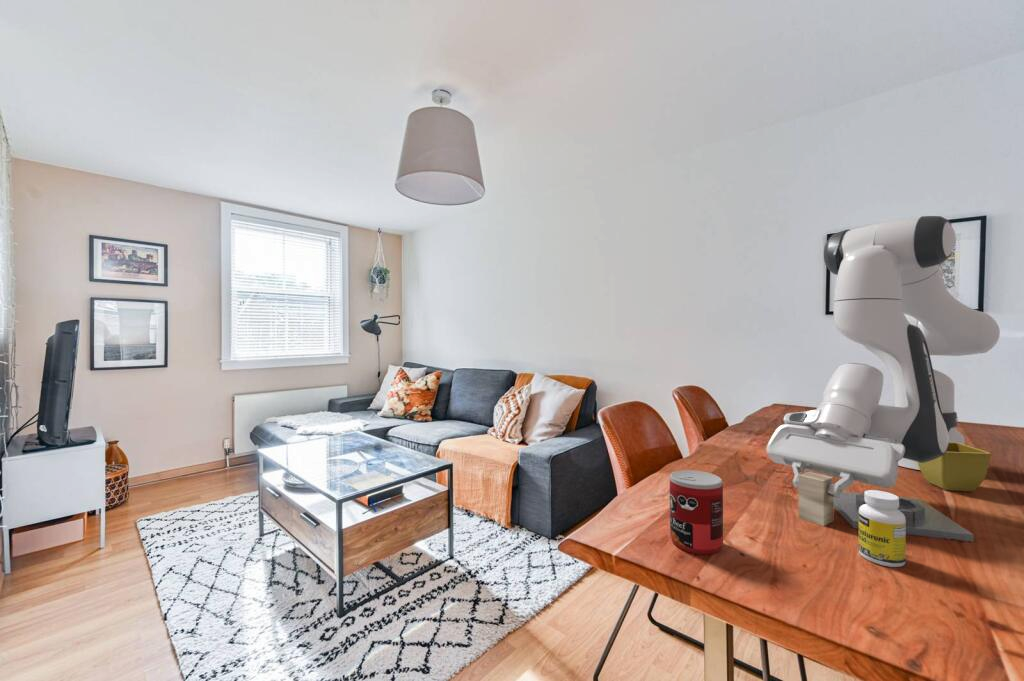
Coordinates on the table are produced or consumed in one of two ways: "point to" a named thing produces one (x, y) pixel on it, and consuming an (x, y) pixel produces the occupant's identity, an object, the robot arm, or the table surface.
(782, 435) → the robot arm
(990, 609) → the table surface
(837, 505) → the grey square socket board
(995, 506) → the table surface
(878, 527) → the supplement bottle
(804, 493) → the birch block
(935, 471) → the flower pot
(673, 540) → the canned food
